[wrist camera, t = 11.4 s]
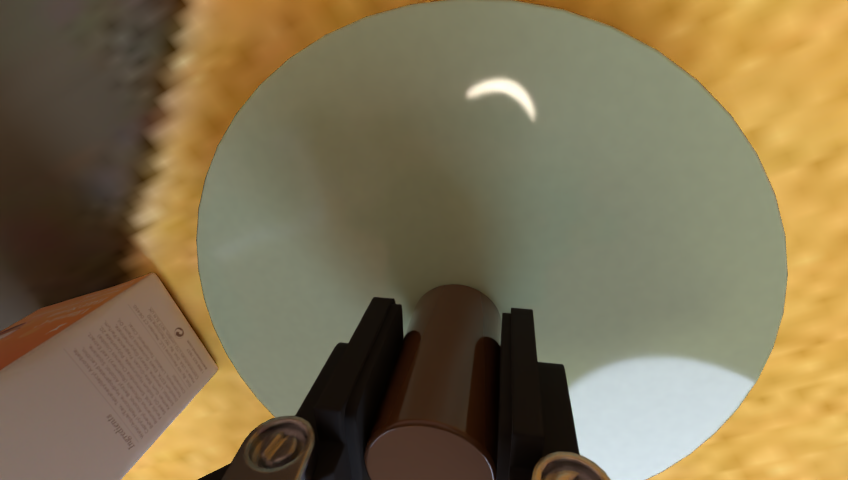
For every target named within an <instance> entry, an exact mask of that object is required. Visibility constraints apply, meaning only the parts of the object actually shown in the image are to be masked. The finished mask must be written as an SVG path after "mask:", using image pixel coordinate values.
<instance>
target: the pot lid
mask: <svg viewBox="0 0 848 480" xmlns="http://www.w3.org/2000/svg"><path fill="white" fill-rule="evenodd" d="M196 241H197V256H198V270H199V275H200V280H201V285H202V290H203V295H204V300H205V303H206V306H207V309H208V312H209V315H210V318H211V321H212V323H213V326H214V329H215V331H216V333H217V335H218V337H219V339H220V341H221V343H222V346H223V348H224V350H225V352H226V354H227V355H228V357H229V359H230V360H231V362H232V363H233V365H234V367H235V368H236V370H237V372H238V373H239V375H240V376H241V378H242V379H243V380H244V382H245V383H246V384H247V386H248V387H249V388H250V389H251V391H252V392H253V393H254V395H255V396H256V397H257V399H258V400H259V401H260V402H261V403H262V404H263V405H264V406H265V407H266V408H267V409H268V410H269V411H270V412H271V414H272V415H273V416H274V417H275V418H276V417H280V416H295V415H296V413H297V412H298V410H299V408H300V406H301V405H302V403H303V401H304V399H305V398H306V396H307V394H308V393H309V391H310V389H311V387H312V386H313V384H314V382H315V380H316V379H317V377H318V375H319V373H320V372H321V370H322V368H323V367H324V365H325V363H326V361H327V360H328V358H329V356H330V354H331V353H332V351H333V349H334V347H335V346H336V345H337V344H338V343H340V342H342V343H349V341H350V339H351V337H352V335H353V334H354V332H355V330H356V328H357V326H358V324H359V322H360V321H361V319H362V317H363V315H364V313H365V311H366V309H367V308H368V306H369V304H370V302H371V300H372V299H373V297H381V298H394V299H395V303H396V304H401V305H402V314H403V334H404V339H403V342H402V345H401V348H400V350H399V353H398V356H397V359H396V362H395V364H394V367H393V370H392V373H391V376H390V378H389V381H388V384H387V387H386V390H385V392H384V395H383V398H382V401H381V404H380V406H379V409H378V412H377V415H376V417H375V420H374V423H373V426H372V429H371V431H370V434H369V437H368V440H367V443H366V445H365V449H364V465H365V470H366V472H367V475H368V477H369V479H370V480H496V475H497V446H498V411H499V375H500V344H501V328H502V313H511V308H522V309H532V310H533V317H534V328H535V339H536V350H537V361H538V362H545V363H555V364H563V365H564V368H565V373H566V379H567V384H568V390H569V396H570V402H571V407H572V413H573V419H574V425H575V430H576V436H577V442H578V448H579V453H580V455H582V456H584V457H586V458H588V459H589V460H591V461H593V462H595V463H596V464H597V465H598V466H599V467H600V468H601V469H603V470H604V471H605V472H606V474H607V475H608V477H609V478H610V480H647V479H649V478H651V477H653V476H655V475H657V474H659V473H661V472H663V471H665V470H666V469H668V468H669V467H671V466H672V465H674V464H675V463H677V462H679V461H680V460H682V459H683V458H685V457H686V456H688V455H690V454H691V453H692V452H693V451H694V450H696V449H697V448H698V447H699V446H700V445H702V444H703V443H704V442H705V441H706V440H708V439H709V438H710V437H711V436H712V435H714V434H715V433H716V432H717V431H718V430H719V429H720V428H721V426H722V425H723V424H724V423H725V422H726V421H727V420H728V419H729V418H730V417H731V416H732V415H733V413H734V412H735V411H736V410H737V409H738V408H739V406H740V405H741V404H742V402H743V401H744V399H745V398H746V396H747V395H748V393H749V392H750V390H751V389H752V388H753V386H754V385H755V383H756V382H757V380H758V378H759V376H760V374H761V372H762V370H763V368H764V366H765V364H766V362H767V360H768V358H769V355H770V353H771V351H772V349H773V347H774V343H775V340H776V336H777V333H778V330H779V326H780V323H781V319H782V316H783V312H784V303H785V294H786V286H787V277H788V271H787V256H786V240H785V232H784V228H783V224H782V220H781V216H780V212H779V208H778V204H777V200H776V196H775V193H774V190H773V188H772V186H771V184H770V181H769V179H768V177H767V175H766V172H765V170H764V168H763V166H762V163H761V161H760V159H759V157H758V154H757V153H756V151H755V150H754V148H753V147H752V145H751V144H750V142H749V141H748V139H747V138H746V136H745V135H744V133H743V132H742V130H741V129H740V127H739V126H738V124H737V123H736V121H735V120H734V119H733V117H732V116H731V114H730V113H729V112H728V111H727V110H726V109H725V108H724V107H723V106H722V105H721V104H720V103H719V102H718V101H717V100H716V99H715V98H714V97H713V96H712V95H711V94H710V92H709V91H708V90H707V89H706V88H705V87H704V86H703V85H702V84H701V83H700V82H699V81H698V80H697V79H695V78H694V77H693V76H691V75H690V74H689V73H687V72H686V71H685V70H684V69H682V68H681V67H680V66H678V65H677V64H676V63H674V62H673V61H672V60H670V59H669V58H668V57H666V56H665V55H664V54H662V53H661V52H660V51H658V50H657V49H655V48H653V47H651V46H649V45H647V44H645V43H643V42H641V41H640V40H638V39H636V38H634V37H632V36H630V35H628V34H626V33H624V32H622V31H621V30H619V29H617V28H615V27H613V26H611V25H608V24H605V23H602V22H599V21H596V20H593V19H590V18H587V17H584V16H582V15H579V14H576V13H573V12H570V11H567V10H564V9H560V8H554V7H549V6H543V5H538V4H532V3H527V2H521V1H516V0H441V1H433V2H424V3H416V4H410V5H406V6H403V7H399V8H395V9H392V10H388V11H385V12H381V13H377V14H374V15H370V16H366V17H364V18H362V19H360V20H357V21H355V22H353V23H351V24H348V25H346V26H344V27H342V28H340V29H337V30H335V31H333V32H331V33H328V34H326V35H324V36H323V37H321V38H320V39H318V40H317V41H315V42H314V43H312V44H310V45H309V46H307V47H306V48H304V49H303V50H301V51H300V52H298V53H297V54H295V55H293V56H292V57H290V58H289V59H288V60H287V61H286V62H285V63H284V64H282V65H281V66H280V67H279V68H278V69H277V70H276V71H275V72H273V73H272V74H271V75H270V76H269V77H268V78H267V79H266V80H265V81H263V82H262V83H261V84H260V85H259V86H258V88H257V89H256V90H255V91H254V93H253V94H252V95H251V96H250V98H249V99H248V100H247V101H246V102H245V104H244V105H243V106H242V107H241V109H240V110H239V111H238V112H237V114H236V115H235V117H234V119H233V120H232V122H231V124H230V126H229V127H228V129H227V131H226V132H225V134H224V136H223V138H222V139H221V141H220V143H219V145H218V147H217V149H216V152H215V154H214V157H213V160H212V162H211V165H210V167H209V170H208V172H207V175H206V178H205V183H204V187H203V192H202V196H201V201H200V205H199V211H198V225H197V239H196Z"/></svg>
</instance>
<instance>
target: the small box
mask: <svg viewBox="0 0 848 480" xmlns="http://www.w3.org/2000/svg"><path fill="white" fill-rule="evenodd" d="M217 370H218V367H217V365H216V364H215V362H214V361H213V359H212V358H211V356H210V355H209V353H208V352H207V350H206V349H205V347H204V346H203V344H202V343H201V341H200V340H199V338H198V336H197V335H196V333H195V332H194V330H193V329H192V328H191V326H190V325H189V323H188V322H187V320H186V318H185V317H184V315H183V314H182V312H181V311H180V309H179V308H178V306H177V305H176V303H175V302H174V300H173V299H172V297H171V296H170V294H169V293H168V291H167V290H166V288H165V287H164V285H163V284H162V282H161V281H160V279H159V278H158V276H157V275H156V274H155V273H149V274H147V275H144V276H141V277H138V278H136V279H133V280H131V281H128V282H125V283H122V284H119V285H116V286H113V287H110V288H106V289H103V290H100V291H97V292H93V293H90V294H86V295H83V296H80V297H76V298H73V299H70V300H67V301H63V302H60V303H57V304H54V305H51V306H47V307H44V308H41V309H39V310H37V311H35V312H34V313H32V314H30V315H28V316H27V317H25V318H23V319H22V320H20V321H18V322H16V323H15V324H13V325H11V326H9V327H8V328H6V329H4V330H2V331H0V480H121V479H122V478H123V477H124V476H125V474H126V473H127V472H128V471H129V470H130V469H131V468H132V467H133V466H134V465H135V463H136V462H137V461H138V460H139V459H140V458H141V456H142V455H143V454H144V453H145V452H146V451H147V450H148V449H149V448H150V447H151V445H152V444H153V443H154V442H155V441H156V440H157V438H158V437H159V436H160V435H161V434H162V433H163V432H164V431H165V430H166V428H167V427H168V426H169V425H170V424H171V423H172V422H173V421H174V420H175V418H176V417H177V416H178V415H179V414H180V413H181V412H182V411H183V410H184V408H185V407H186V406H187V405H188V404H189V403H190V402H191V400H192V399H193V398H194V397H195V396H196V395H197V393H198V392H199V391H200V390H201V389H202V388H203V387H204V386H205V385H206V383H207V382H208V381H209V380H210V379H211V378H212V377H213V376H214V374H215V373H216V372H217Z"/></svg>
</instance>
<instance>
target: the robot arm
mask: <svg viewBox="0 0 848 480" xmlns="http://www.w3.org/2000/svg"><path fill="white" fill-rule="evenodd" d="M403 339H404V334H403V314H402V305H401V304H396V303H395V299H394V298H381V297H373V299H372V300H371V302H370V304H369V306H368V308H367V309H366V311H365V313H364V315H363V317H362V319H361V321H360V322H359V324H358V326H357V328H356V330H355V332H354V334H353V335H352V337H351V339H350V341H349V343H342V342H340V343H338V344H337V345H336V346H335V347H334V349H333V351H332V353H331V354H330V356H329V358H328V360H327V361H326V363H325V365H324V367H323V368H322V370H321V372H320V373H319V375H318V377H317V379H316V380H315V382H314V384H313V386H312V387H311V389H310V391H309V393H308V394H307V396H306V398H305V399H304V401H303V403H302V405H301V406H300V408H299V410H298V412H297V413H296V415H295V416H280V417H276V418H273V419H270V420H268V421H266V422H264V423H262V424H260V425H259V426H258V427H257V428H255V429H254V430H253V431H252V432H251V433H250V434H249V435H248V436H247V438H246V439H245V440H244V442H243V444H242V445H241V447H240V449H239V450H238V452H237V454H236V455H235V457H234V459H233V461H232V462H231V463H230V464H228V465H226V466H224V467H222V468H220V469H218V470H216V471H214V472H212V473H210V474H208V475H206V476H204V477H202V478H200V479H198V480H370V479H369V477H368V475H367V472H366V470H365V465H364V449H365V445H366V443H367V440H368V437H369V434H370V431H371V429H372V426H373V423H374V420H375V417H376V415H377V412H378V409H379V406H380V404H381V401H382V398H383V395H384V392H385V390H386V387H387V384H388V381H389V378H390V376H391V373H392V370H393V367H394V364H395V362H396V359H397V356H398V353H399V350H400V348H401V345H402V342H403ZM496 480H610V478H609V477H608V475H607V474H606V472H605V471H604V470H603V469H601V468H600V467H599V466H598V465H597V464H596V463H595V462H593V461H591V460H589V459H588V458H586V457H584V456H582V455H580V453H579V448H578V442H577V436H576V430H575V425H574V419H573V413H572V407H571V402H570V396H569V390H568V384H567V379H566V373H565V368H564V365H563V364H555V363H545V362H538V361H537V350H536V339H535V328H534V317H533V310H532V309H522V308H511V313H502V328H501V344H500V375H499V411H498V446H497V475H496Z"/></svg>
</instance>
